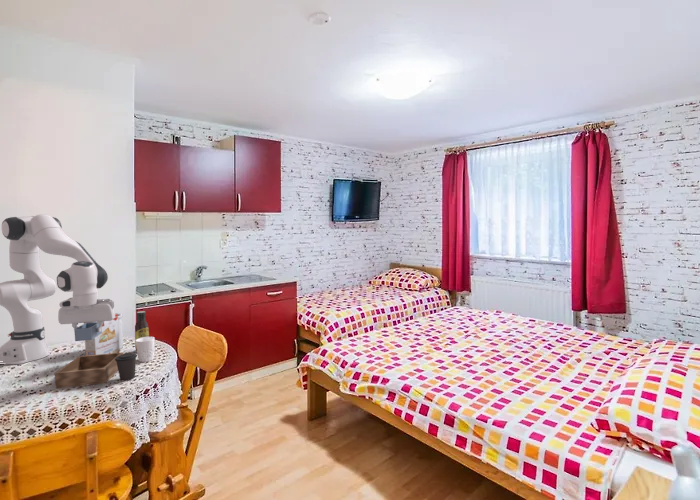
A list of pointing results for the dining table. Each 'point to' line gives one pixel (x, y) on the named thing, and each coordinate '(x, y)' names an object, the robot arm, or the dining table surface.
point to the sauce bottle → (141, 326)
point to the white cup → (145, 349)
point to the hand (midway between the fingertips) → (88, 332)
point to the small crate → (86, 331)
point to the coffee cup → (126, 366)
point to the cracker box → (104, 339)
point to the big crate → (87, 370)
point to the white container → (120, 330)
